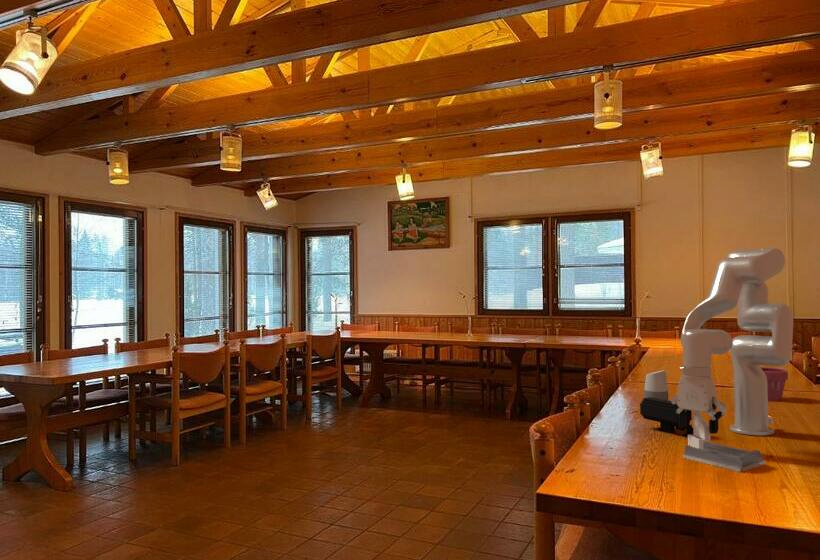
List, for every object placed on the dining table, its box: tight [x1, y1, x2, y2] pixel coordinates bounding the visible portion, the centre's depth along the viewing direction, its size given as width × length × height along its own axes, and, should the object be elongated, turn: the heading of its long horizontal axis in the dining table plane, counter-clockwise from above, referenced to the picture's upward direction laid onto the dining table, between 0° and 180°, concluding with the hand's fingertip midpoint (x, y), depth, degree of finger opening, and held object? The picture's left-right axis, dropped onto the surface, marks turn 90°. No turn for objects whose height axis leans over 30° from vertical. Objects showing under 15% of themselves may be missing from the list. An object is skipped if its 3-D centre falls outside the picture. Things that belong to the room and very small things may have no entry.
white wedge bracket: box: [687, 411, 712, 449], centre depth 176 cm, size 4×10×9 cm, turn 5°
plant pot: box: [760, 366, 789, 402], centre depth 249 cm, size 14×14×13 cm
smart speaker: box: [643, 369, 669, 400], centre depth 243 cm, size 10×9×14 cm
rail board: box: [682, 442, 766, 473], centre depth 161 cm, size 16×12×4 cm
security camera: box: [639, 397, 694, 438], centre depth 195 cm, size 7×18×10 cm, turn 27°
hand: (697, 429), depth 175 cm, fingers open, 9 cm apart
